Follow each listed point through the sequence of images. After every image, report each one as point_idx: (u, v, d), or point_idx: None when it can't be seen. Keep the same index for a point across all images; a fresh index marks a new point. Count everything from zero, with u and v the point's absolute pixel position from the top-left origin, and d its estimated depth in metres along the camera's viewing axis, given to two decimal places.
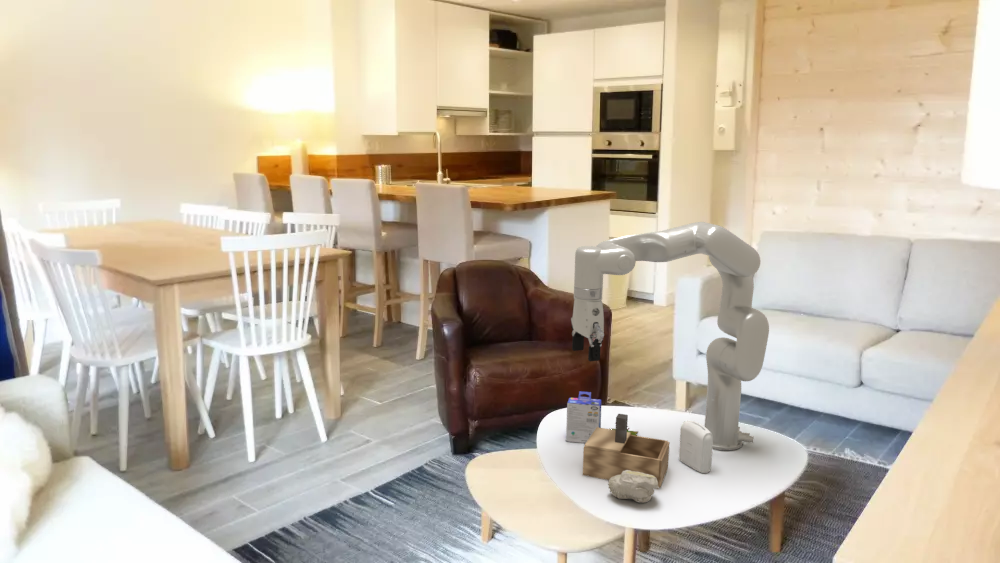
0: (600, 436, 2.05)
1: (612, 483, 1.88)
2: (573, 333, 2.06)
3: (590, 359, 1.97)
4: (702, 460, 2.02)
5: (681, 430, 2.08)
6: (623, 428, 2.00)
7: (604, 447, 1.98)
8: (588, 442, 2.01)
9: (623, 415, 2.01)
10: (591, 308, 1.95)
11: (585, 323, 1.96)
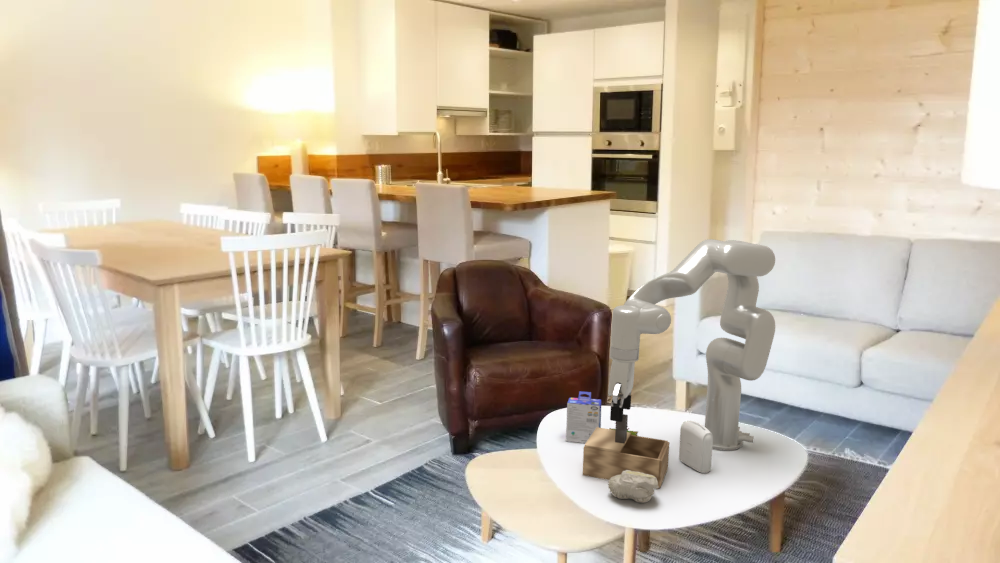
0: (600, 436, 2.05)
1: (612, 483, 1.88)
2: (622, 404, 1.94)
3: None
4: (702, 460, 2.02)
5: (681, 430, 2.08)
6: (623, 428, 2.00)
7: (604, 447, 1.98)
8: (588, 442, 2.01)
9: (623, 415, 2.01)
10: None
11: (633, 376, 2.01)
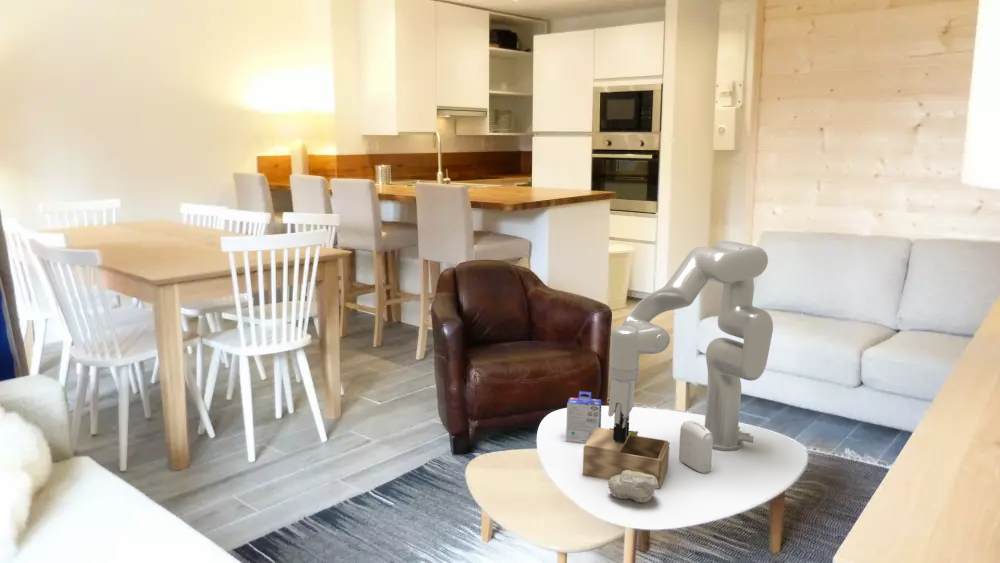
0: (600, 436, 2.05)
1: (612, 483, 1.88)
2: (624, 425, 1.99)
3: None
4: (702, 460, 2.02)
5: (681, 430, 2.08)
6: None
7: (604, 447, 1.98)
8: (588, 442, 2.01)
9: None
10: None
11: (633, 395, 2.02)
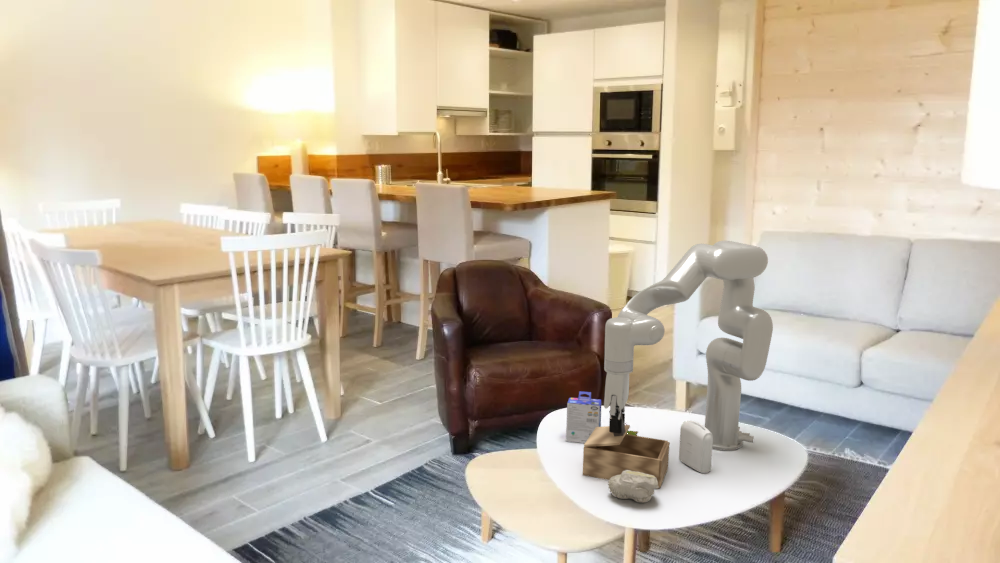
0: (599, 434, 2.05)
1: (612, 483, 1.88)
2: (620, 416, 1.98)
3: None
4: (702, 460, 2.02)
5: (681, 430, 2.08)
6: None
7: (603, 443, 1.98)
8: (587, 441, 2.01)
9: None
10: None
11: None
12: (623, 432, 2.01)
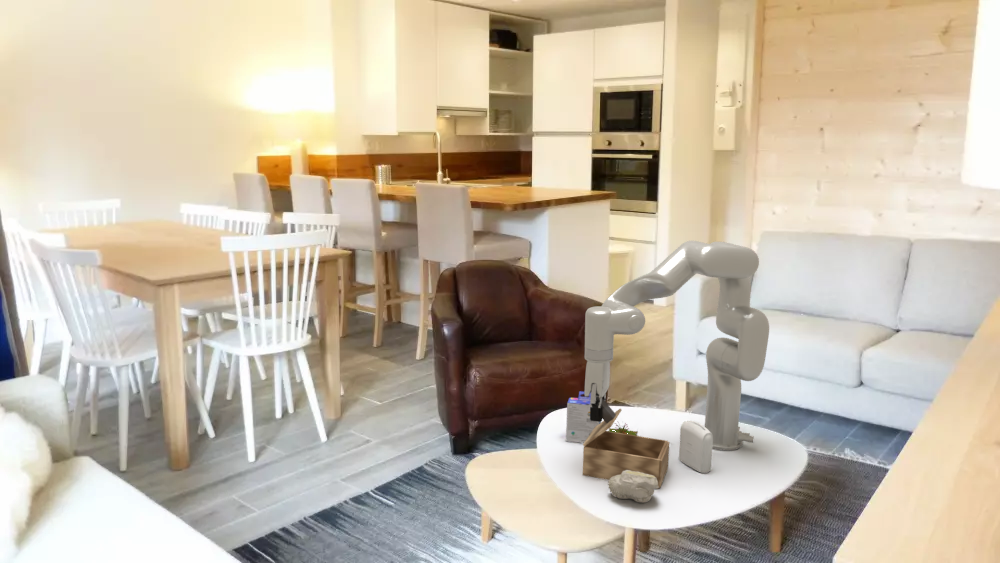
0: (596, 429, 2.05)
1: (612, 483, 1.88)
2: (600, 405, 2.00)
3: None
4: (702, 460, 2.02)
5: (681, 430, 2.08)
6: (602, 406, 2.01)
7: (597, 433, 1.98)
8: (586, 440, 2.01)
9: None
10: None
11: (609, 375, 2.04)
12: (613, 415, 2.01)
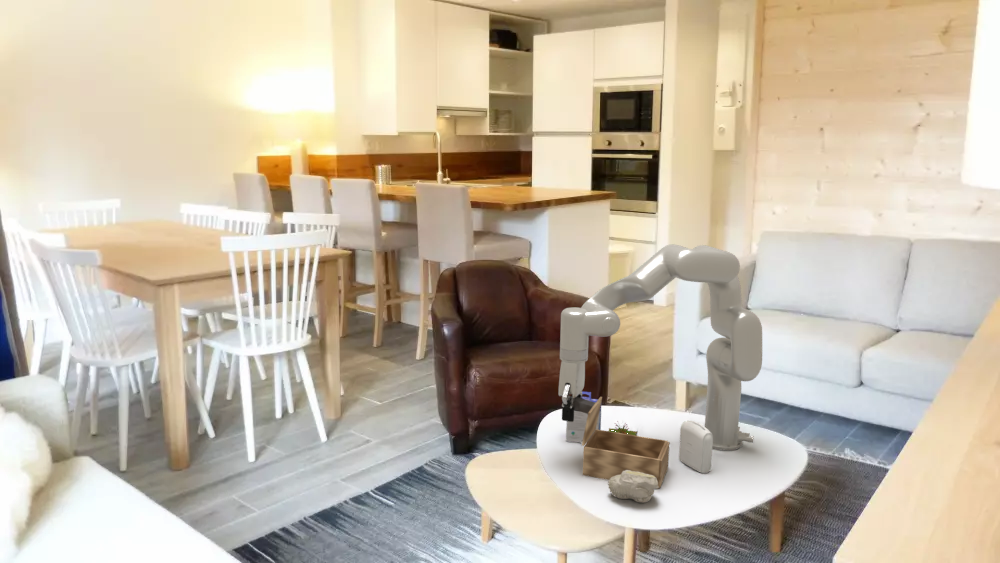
0: None
1: (612, 483, 1.88)
2: (572, 405, 2.01)
3: None
4: (702, 460, 2.02)
5: (681, 430, 2.08)
6: (577, 403, 2.03)
7: (585, 427, 1.99)
8: None
9: None
10: None
11: (584, 376, 2.06)
12: (591, 404, 2.03)
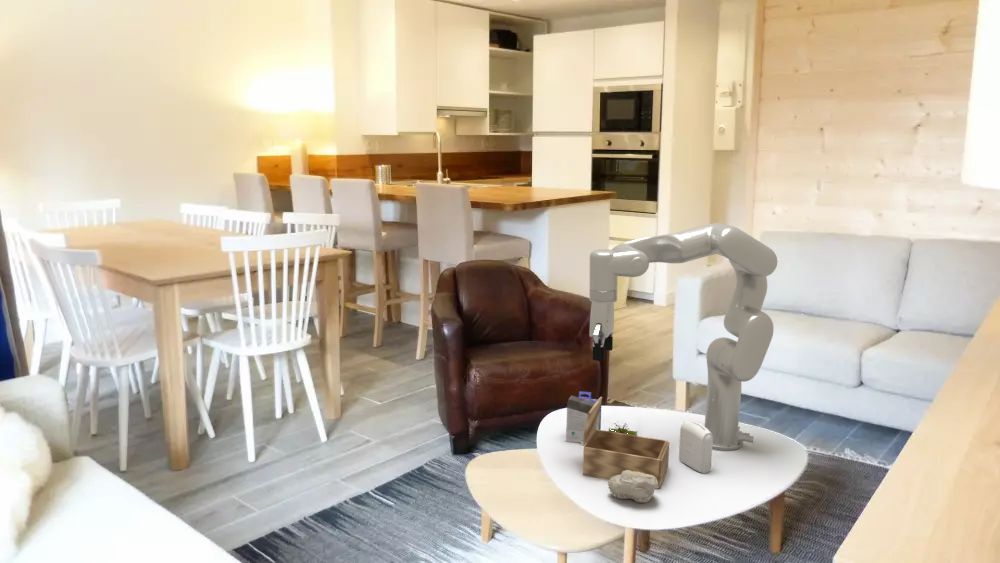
0: None
1: (612, 483, 1.88)
2: (603, 344, 2.02)
3: None
4: (702, 460, 2.02)
5: (681, 430, 2.08)
6: (577, 403, 2.03)
7: (585, 427, 1.99)
8: None
9: None
10: None
11: (613, 317, 2.09)
12: (591, 404, 2.03)
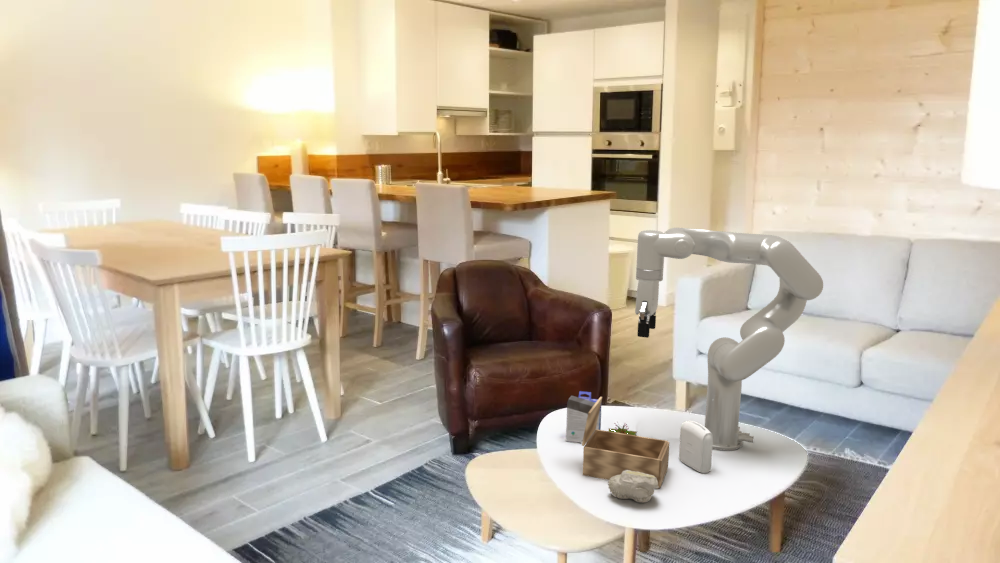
0: None
1: (612, 483, 1.88)
2: (648, 321, 2.10)
3: None
4: (702, 460, 2.02)
5: (681, 430, 2.08)
6: (577, 403, 2.03)
7: (585, 427, 1.99)
8: None
9: None
10: None
11: None
12: (591, 404, 2.03)
